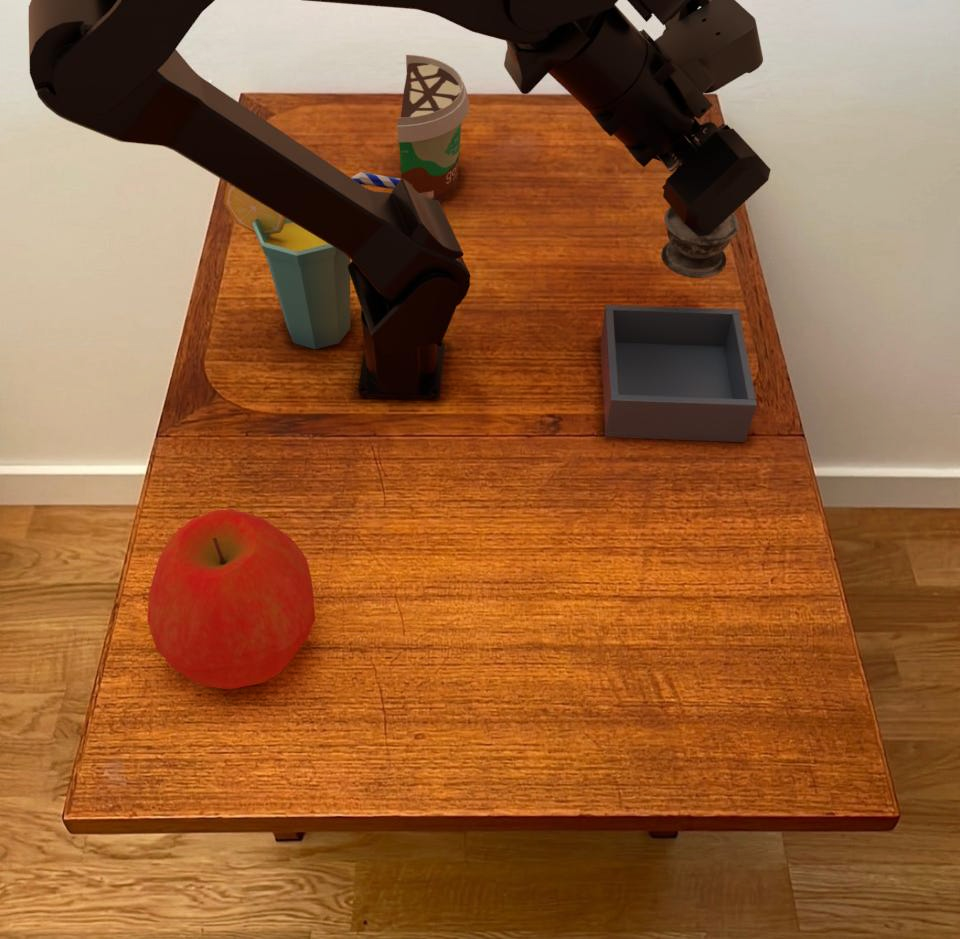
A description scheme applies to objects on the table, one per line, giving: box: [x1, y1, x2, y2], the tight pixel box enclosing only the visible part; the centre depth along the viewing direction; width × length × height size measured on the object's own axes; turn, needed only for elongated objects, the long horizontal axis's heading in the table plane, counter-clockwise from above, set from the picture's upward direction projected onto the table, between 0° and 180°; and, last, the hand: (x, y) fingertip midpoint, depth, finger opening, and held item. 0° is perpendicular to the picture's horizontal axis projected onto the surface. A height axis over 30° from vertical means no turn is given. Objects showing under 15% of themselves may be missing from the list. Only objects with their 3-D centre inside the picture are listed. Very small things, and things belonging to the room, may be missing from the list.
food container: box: [396, 54, 470, 202], centre depth 94 cm, size 12×6×10 cm, turn 179°
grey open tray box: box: [599, 304, 758, 443], centre depth 78 cm, size 11×11×4 cm
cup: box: [222, 171, 401, 350], centre depth 78 cm, size 14×8×15 cm, turn 90°
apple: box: [147, 508, 316, 690], centre depth 61 cm, size 10×10×10 cm
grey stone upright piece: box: [660, 123, 740, 279], centre depth 77 cm, size 6×6×12 cm
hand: (724, 185), depth 77 cm, fingers closed on grey stone upright piece, 3 cm apart
